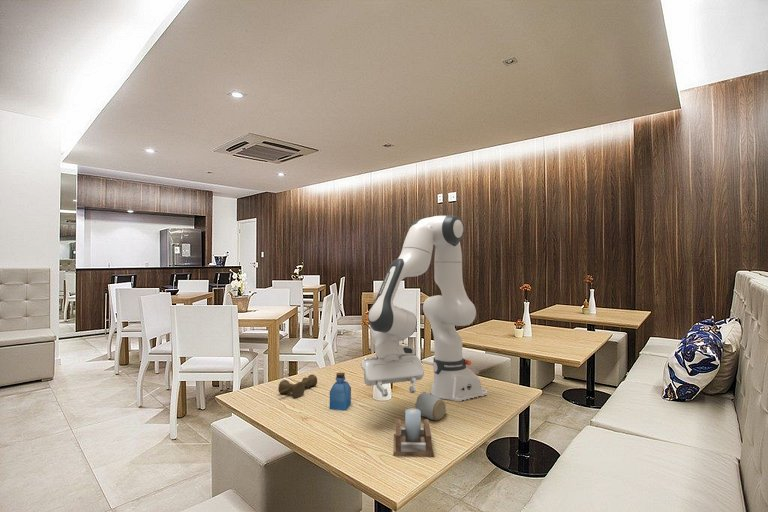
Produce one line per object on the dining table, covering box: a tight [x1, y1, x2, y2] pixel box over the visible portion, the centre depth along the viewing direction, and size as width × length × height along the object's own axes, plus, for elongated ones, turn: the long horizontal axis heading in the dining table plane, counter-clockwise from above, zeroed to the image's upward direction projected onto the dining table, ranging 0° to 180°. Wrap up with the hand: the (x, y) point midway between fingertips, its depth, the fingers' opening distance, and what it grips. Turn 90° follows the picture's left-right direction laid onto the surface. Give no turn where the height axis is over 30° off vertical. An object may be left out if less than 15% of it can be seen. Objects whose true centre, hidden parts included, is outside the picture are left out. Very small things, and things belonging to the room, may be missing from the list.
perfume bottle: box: [329, 372, 352, 411], centre depth 140 cm, size 6×6×12 cm
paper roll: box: [404, 407, 422, 443], centre depth 110 cm, size 4×4×9 cm
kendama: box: [277, 374, 318, 398], centre depth 155 cm, size 6×10×20 cm
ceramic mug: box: [414, 392, 447, 421], centre depth 131 cm, size 11×8×8 cm
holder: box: [392, 418, 435, 457], centre depth 109 cm, size 11×11×6 cm
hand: (399, 394), depth 121 cm, fingers open, 8 cm apart
